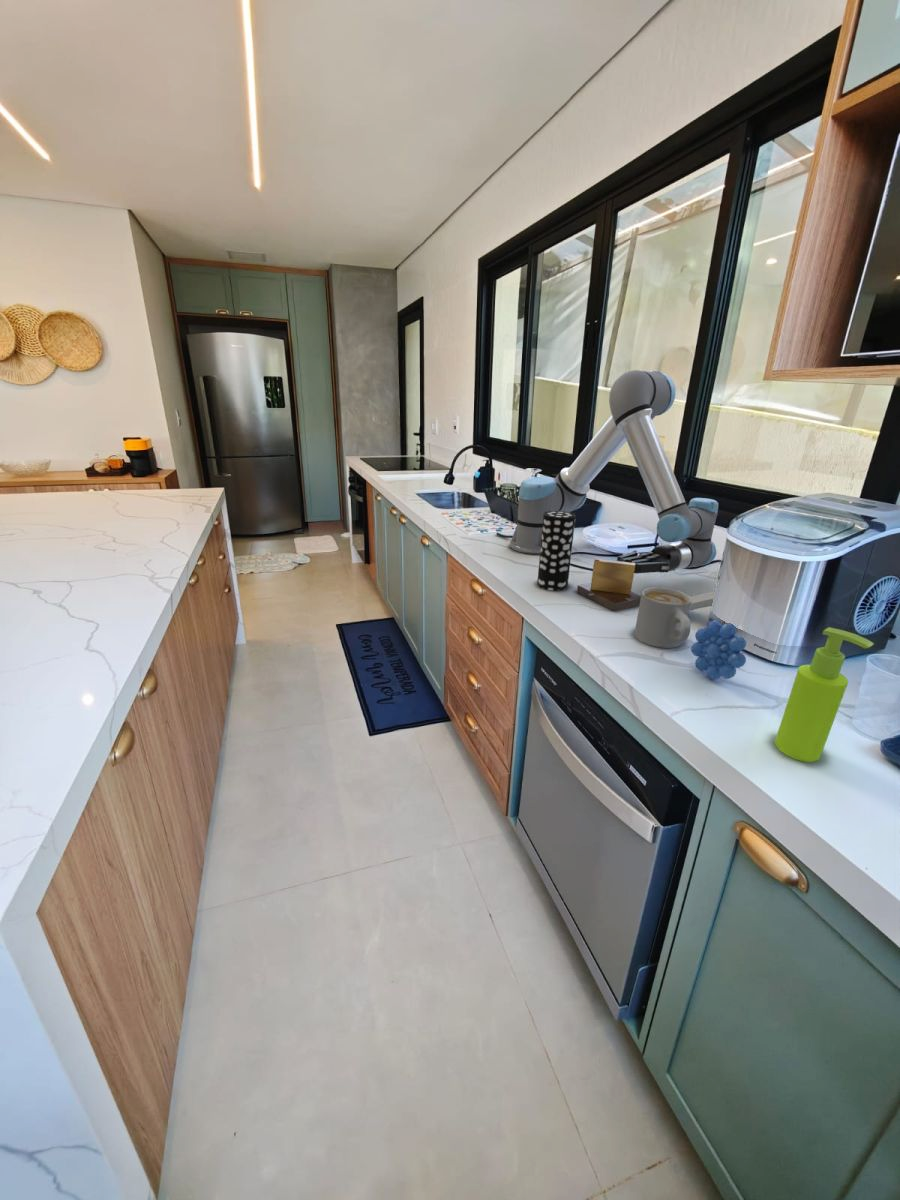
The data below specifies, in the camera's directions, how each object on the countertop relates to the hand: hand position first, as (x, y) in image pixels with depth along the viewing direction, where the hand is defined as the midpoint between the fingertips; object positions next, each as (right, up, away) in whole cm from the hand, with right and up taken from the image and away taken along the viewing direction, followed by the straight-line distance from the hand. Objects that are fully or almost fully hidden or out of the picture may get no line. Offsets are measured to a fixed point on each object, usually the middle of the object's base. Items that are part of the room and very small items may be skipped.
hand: (605, 568), depth 131 cm
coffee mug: (+6, -17, -22) cm, 28 cm away
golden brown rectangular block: (+1, -6, 0) cm, 6 cm away
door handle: (+24, -12, -7) cm, 28 cm away
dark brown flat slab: (+1, -8, +1) cm, 8 cm away
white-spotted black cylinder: (-12, -4, +9) cm, 16 cm away
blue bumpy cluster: (+10, -23, -35) cm, 43 cm away
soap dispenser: (+13, -31, -55) cm, 64 cm away
